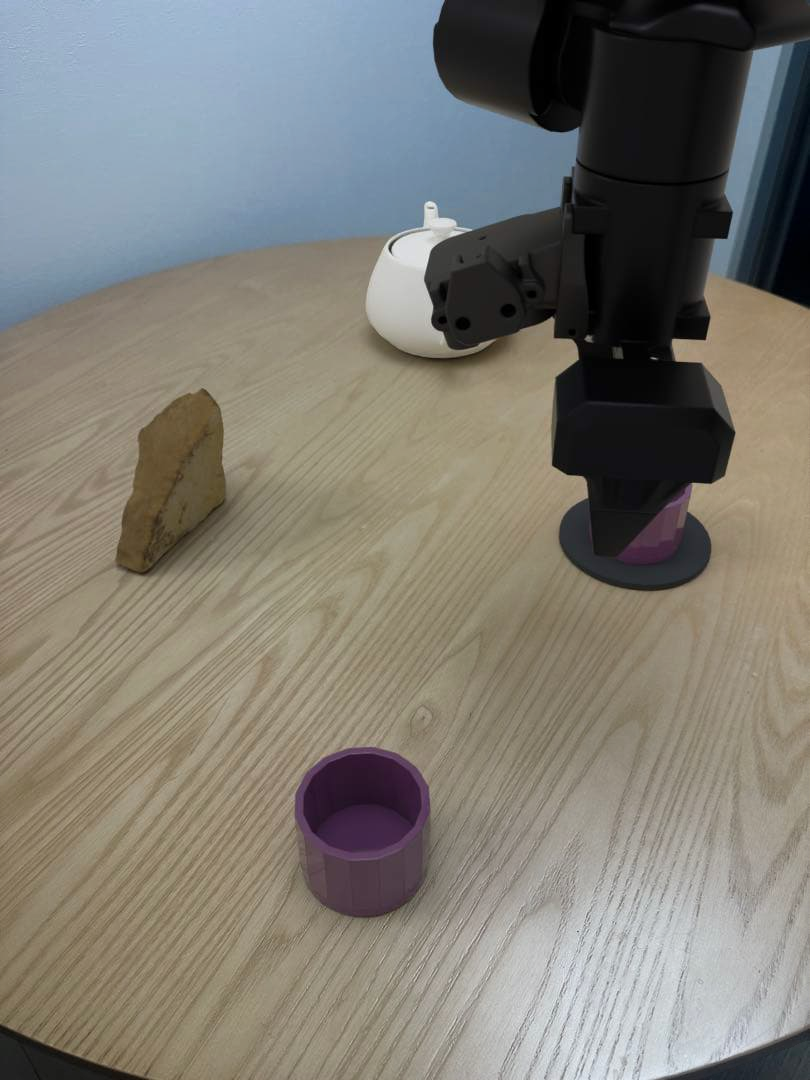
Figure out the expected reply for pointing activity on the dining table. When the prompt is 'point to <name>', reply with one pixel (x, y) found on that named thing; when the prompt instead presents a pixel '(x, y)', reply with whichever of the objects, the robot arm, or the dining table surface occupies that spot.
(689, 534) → the coaster
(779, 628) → the dining table surface
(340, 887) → the purple faceted cup
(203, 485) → the rock
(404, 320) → the teapot
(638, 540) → the purple cup
